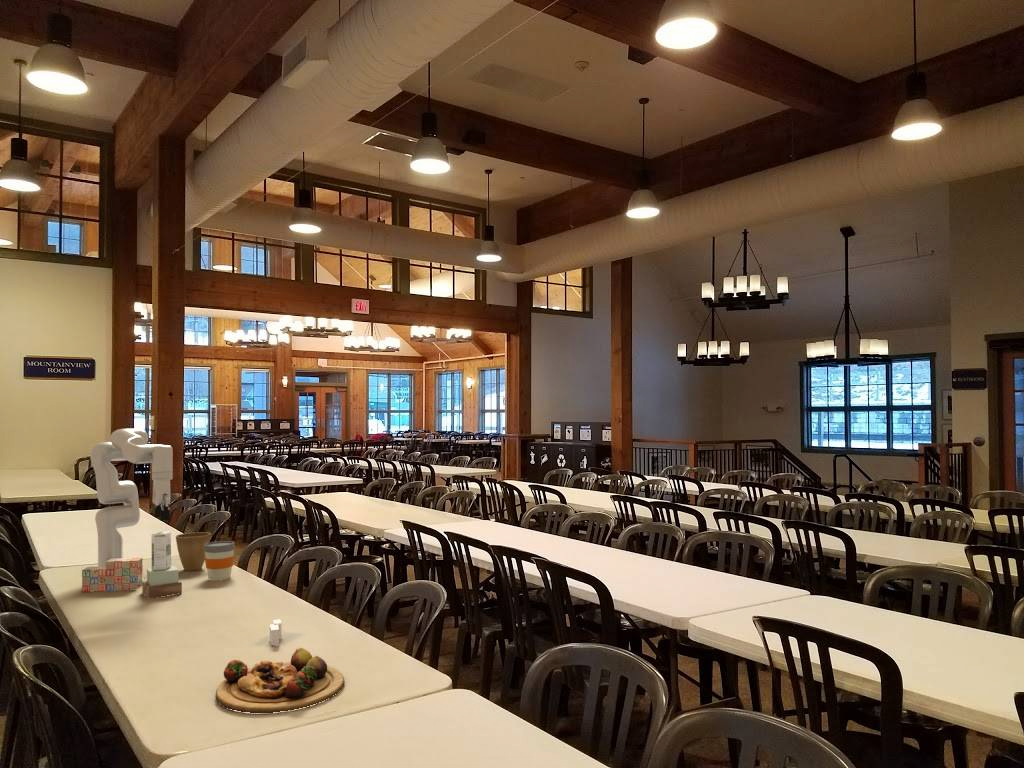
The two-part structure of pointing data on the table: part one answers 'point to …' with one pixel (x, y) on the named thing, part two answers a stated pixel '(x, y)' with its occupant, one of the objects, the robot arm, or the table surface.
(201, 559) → the plant pot
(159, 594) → the tower base block
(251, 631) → the table surface
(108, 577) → the stack of blocks
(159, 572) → the tower top block
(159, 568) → the syrup box
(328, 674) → the wooden plate with food
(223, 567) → the reusable coffee cup
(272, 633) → the napkin holder
